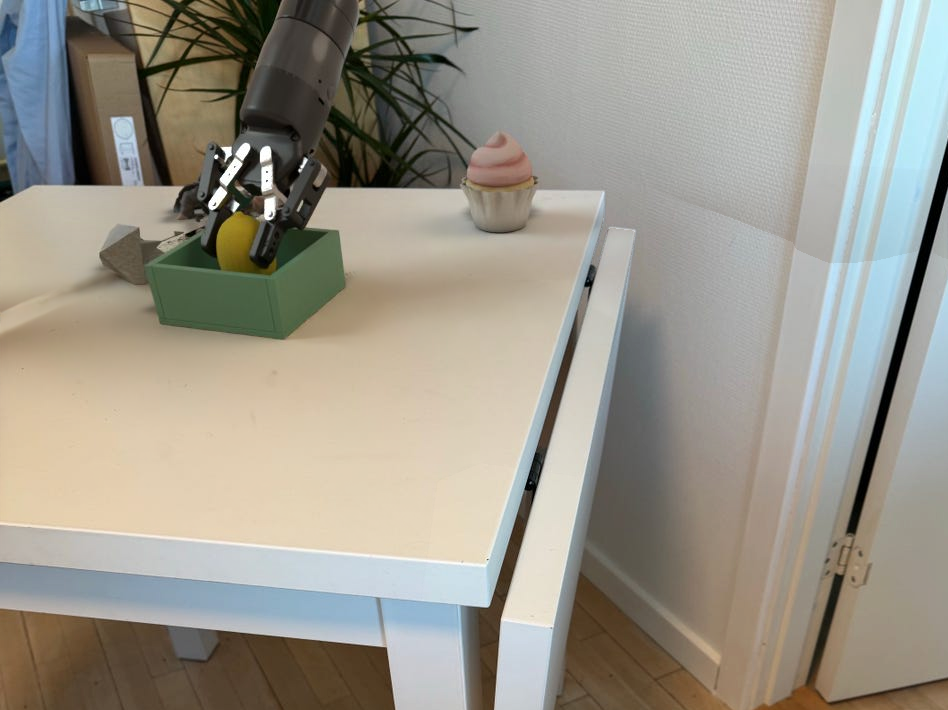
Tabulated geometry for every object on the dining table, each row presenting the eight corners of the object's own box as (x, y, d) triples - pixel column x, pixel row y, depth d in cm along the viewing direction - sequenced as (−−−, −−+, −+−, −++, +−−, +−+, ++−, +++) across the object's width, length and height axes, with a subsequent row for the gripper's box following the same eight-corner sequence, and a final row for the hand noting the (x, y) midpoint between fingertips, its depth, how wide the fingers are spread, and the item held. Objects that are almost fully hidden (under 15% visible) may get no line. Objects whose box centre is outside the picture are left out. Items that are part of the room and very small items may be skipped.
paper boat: (110, 249, 101) (186, 217, 100) (135, 305, 102) (210, 274, 101) (66, 219, 89) (152, 183, 88) (96, 283, 90) (181, 247, 90)
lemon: (287, 285, 92) (273, 202, 87) (276, 307, 88) (260, 221, 83) (234, 286, 93) (216, 203, 87) (220, 307, 88) (201, 222, 83)
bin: (159, 323, 88) (143, 265, 84) (231, 274, 97) (220, 219, 93) (284, 339, 84) (273, 279, 81) (346, 286, 94) (339, 230, 90)
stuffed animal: (166, 235, 103) (156, 147, 106) (187, 288, 113) (178, 206, 115) (270, 225, 104) (258, 138, 107) (282, 278, 114) (271, 197, 117)
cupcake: (450, 235, 105) (446, 139, 98) (474, 210, 111) (471, 118, 105) (528, 241, 103) (529, 143, 96) (548, 215, 109) (550, 122, 102)
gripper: (211, 57, 85) (151, 227, 86) (332, 69, 80) (267, 251, 80) (259, 108, 92) (204, 266, 93) (373, 122, 86) (314, 290, 87)
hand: (233, 258), depth 86 cm, fingers closed on lemon, 5 cm apart
